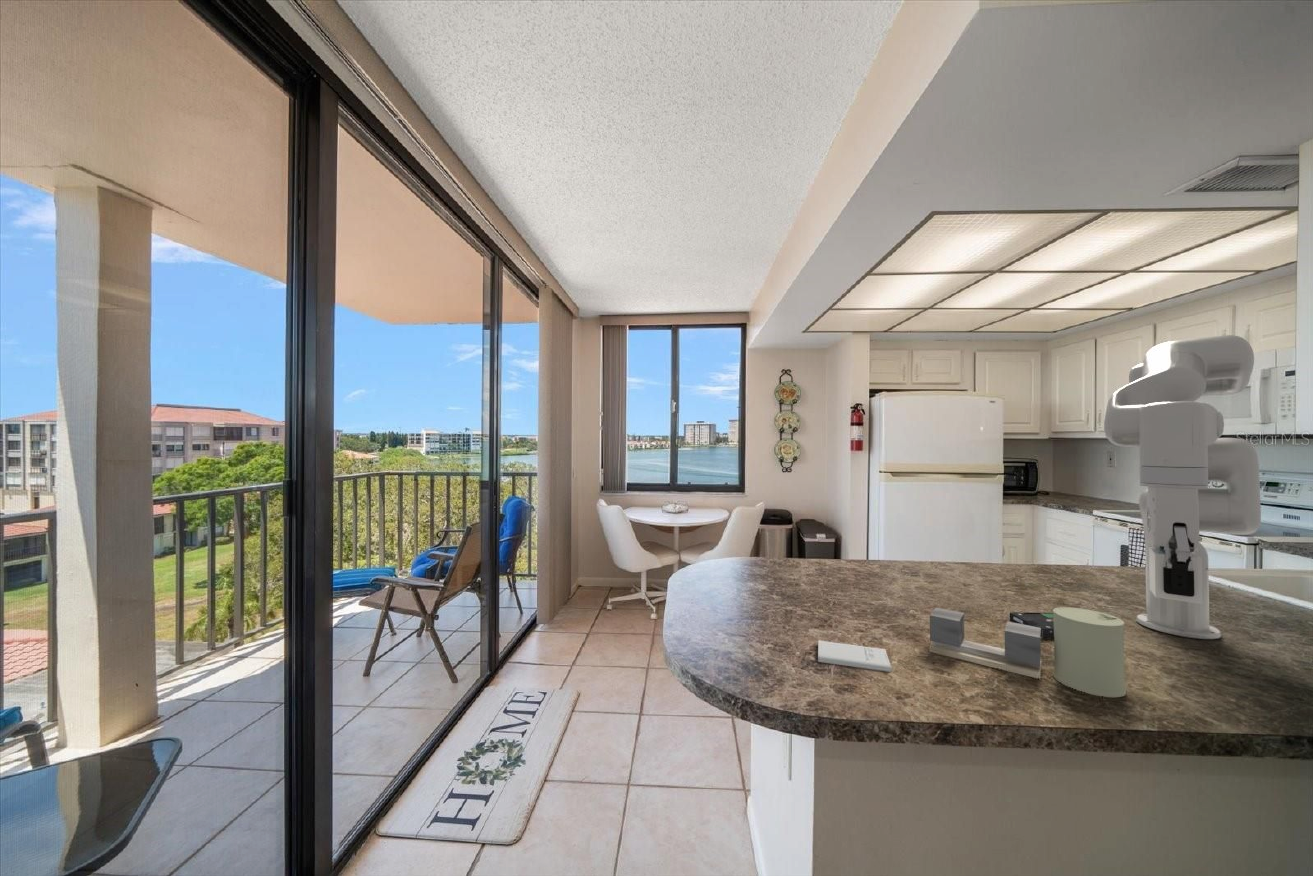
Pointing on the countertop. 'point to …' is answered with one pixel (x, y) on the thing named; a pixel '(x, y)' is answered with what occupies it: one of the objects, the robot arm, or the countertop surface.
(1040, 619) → the disk drive
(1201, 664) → the countertop surface
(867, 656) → the external hard drive
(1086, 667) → the can
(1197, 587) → the block
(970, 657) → the board
